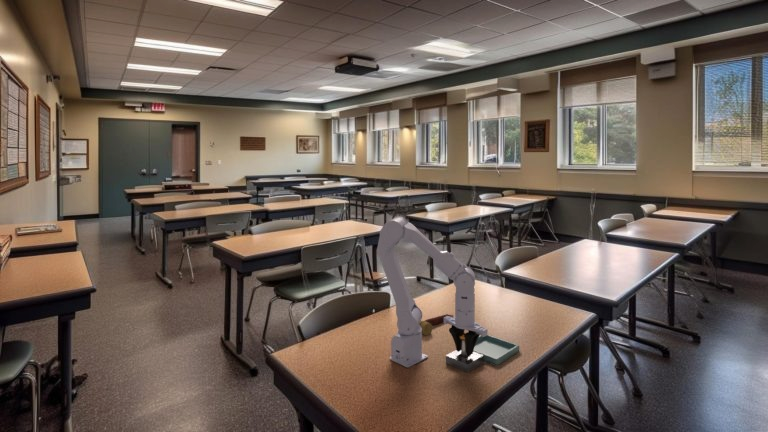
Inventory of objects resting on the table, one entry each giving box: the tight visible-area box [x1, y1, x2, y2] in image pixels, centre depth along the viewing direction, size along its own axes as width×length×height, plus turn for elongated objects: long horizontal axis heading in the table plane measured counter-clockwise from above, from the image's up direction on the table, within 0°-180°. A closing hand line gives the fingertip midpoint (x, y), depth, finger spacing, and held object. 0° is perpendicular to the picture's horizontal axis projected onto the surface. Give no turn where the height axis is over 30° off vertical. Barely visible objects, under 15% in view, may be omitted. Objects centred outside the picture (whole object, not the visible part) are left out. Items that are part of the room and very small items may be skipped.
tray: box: [473, 334, 520, 367], centre depth 132 cm, size 13×13×2 cm
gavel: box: [419, 313, 455, 336], centre depth 154 cm, size 21×5×10 cm
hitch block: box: [445, 349, 485, 373], centre depth 124 cm, size 8×8×2 cm
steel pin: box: [459, 332, 468, 358], centre depth 124 cm, size 3×3×9 cm
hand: (464, 352), depth 124 cm, fingers closed on steel pin, 3 cm apart
